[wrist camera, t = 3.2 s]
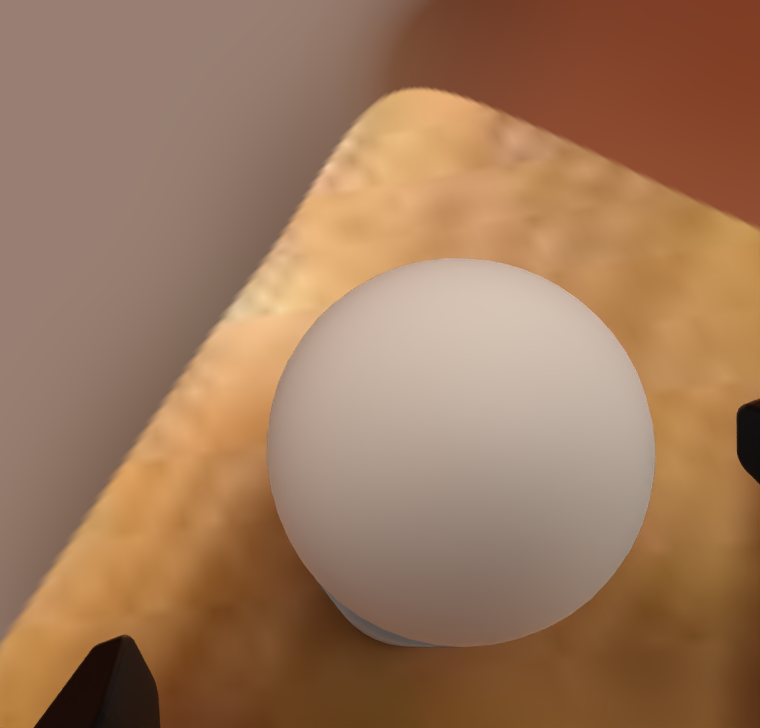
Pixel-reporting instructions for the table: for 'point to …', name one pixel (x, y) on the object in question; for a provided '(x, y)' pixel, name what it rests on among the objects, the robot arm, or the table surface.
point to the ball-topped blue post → (460, 454)
